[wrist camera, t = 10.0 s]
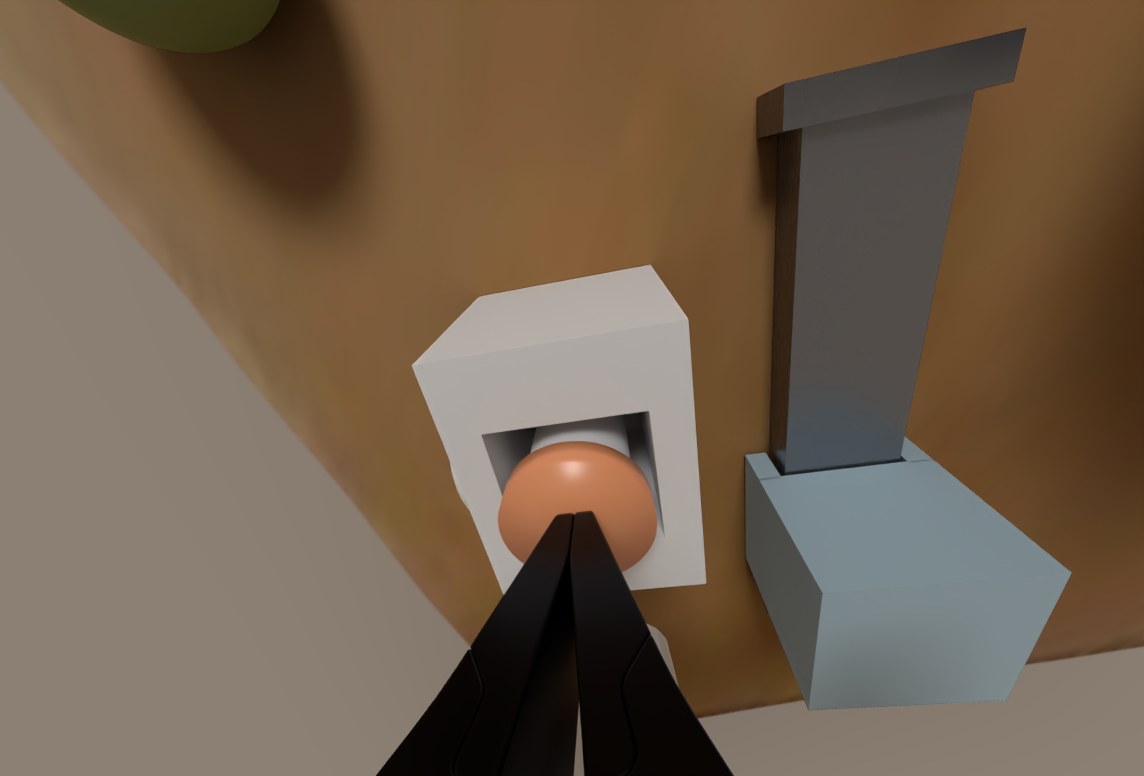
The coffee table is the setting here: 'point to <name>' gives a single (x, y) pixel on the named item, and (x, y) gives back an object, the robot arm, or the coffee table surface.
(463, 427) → the cabinet
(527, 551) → the button
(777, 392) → the rail
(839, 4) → the coffee table surface
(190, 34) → the green eggplant
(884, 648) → the block
